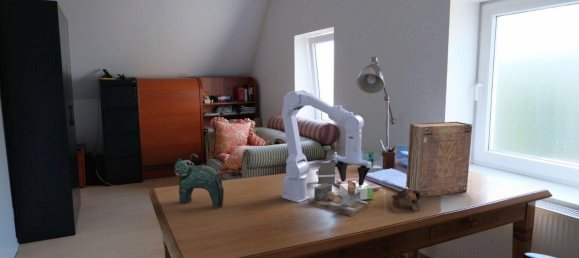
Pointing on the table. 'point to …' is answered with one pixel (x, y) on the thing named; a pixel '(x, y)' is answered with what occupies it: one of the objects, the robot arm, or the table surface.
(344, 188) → the ink box
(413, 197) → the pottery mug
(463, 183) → the book
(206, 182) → the ceramic cat
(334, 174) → the architectural model
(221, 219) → the table surface
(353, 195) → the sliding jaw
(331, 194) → the tan ball
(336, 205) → the base
